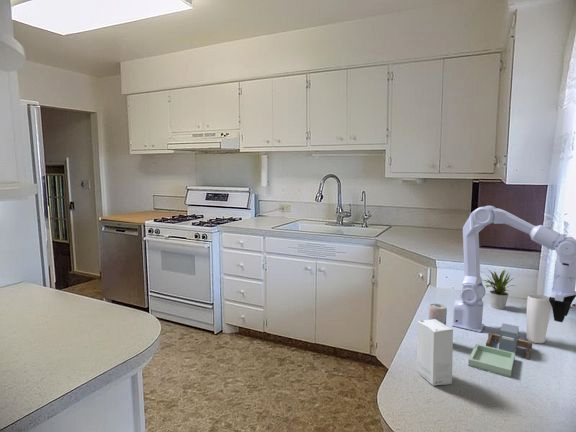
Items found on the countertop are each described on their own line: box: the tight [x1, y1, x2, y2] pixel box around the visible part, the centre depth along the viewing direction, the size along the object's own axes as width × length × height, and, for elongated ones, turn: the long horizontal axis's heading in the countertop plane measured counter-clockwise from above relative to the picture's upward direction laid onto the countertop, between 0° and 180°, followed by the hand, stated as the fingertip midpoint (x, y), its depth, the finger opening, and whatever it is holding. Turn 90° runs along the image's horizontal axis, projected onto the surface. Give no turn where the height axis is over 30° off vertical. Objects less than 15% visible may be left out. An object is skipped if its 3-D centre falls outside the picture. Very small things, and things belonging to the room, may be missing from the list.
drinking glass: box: [525, 293, 552, 344], centre depth 128 cm, size 7×7×15 cm
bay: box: [485, 332, 533, 360], centre depth 122 cm, size 12×9×2 cm
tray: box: [467, 343, 516, 378], centre depth 113 cm, size 11×13×2 cm
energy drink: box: [428, 303, 448, 326], centre depth 126 cm, size 5×5×12 cm
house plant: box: [480, 268, 516, 310], centre depth 161 cm, size 14×14×16 cm
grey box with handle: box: [498, 322, 520, 355], centre depth 121 cm, size 4×8×7 cm, turn 145°
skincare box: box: [416, 319, 454, 387], centre depth 103 cm, size 8×6×15 cm
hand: (560, 318), depth 122 cm, fingers open, 7 cm apart
